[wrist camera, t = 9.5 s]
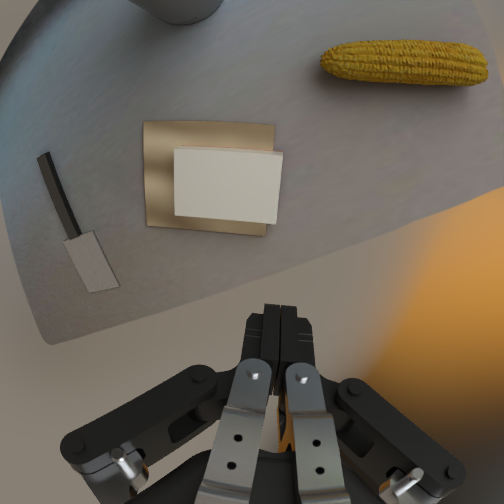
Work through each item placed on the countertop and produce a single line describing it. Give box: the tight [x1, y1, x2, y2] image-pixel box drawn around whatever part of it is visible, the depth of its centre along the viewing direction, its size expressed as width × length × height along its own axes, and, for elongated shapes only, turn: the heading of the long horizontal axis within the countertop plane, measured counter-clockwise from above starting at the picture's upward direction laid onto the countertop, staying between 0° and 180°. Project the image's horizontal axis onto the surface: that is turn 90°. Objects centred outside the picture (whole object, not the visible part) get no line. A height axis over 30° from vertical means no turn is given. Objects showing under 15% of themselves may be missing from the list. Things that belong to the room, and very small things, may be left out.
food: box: [320, 39, 488, 86], centre depth 26 cm, size 21×6×6 cm, turn 103°
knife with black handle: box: [37, 152, 121, 293], centre depth 42 cm, size 24×7×1 cm, turn 16°
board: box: [144, 121, 275, 236], centre depth 37 cm, size 14×16×1 cm
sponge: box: [174, 145, 283, 224], centre depth 35 cm, size 8×3×12 cm
